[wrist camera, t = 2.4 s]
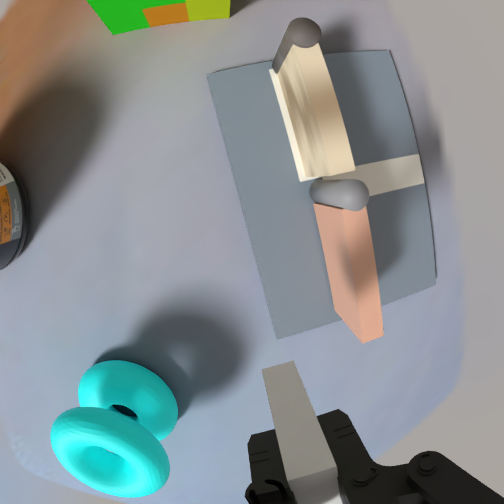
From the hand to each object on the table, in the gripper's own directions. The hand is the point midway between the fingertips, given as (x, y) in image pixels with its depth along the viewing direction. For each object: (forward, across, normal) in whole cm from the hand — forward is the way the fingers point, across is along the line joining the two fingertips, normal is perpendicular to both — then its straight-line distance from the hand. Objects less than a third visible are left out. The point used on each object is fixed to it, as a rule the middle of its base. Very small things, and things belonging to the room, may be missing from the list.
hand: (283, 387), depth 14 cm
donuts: (+13, -15, -7) cm, 21 cm away
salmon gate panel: (+11, +7, +3) cm, 13 cm away
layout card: (+12, +9, +7) cm, 17 cm away
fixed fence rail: (+11, +7, +14) cm, 19 cm away
